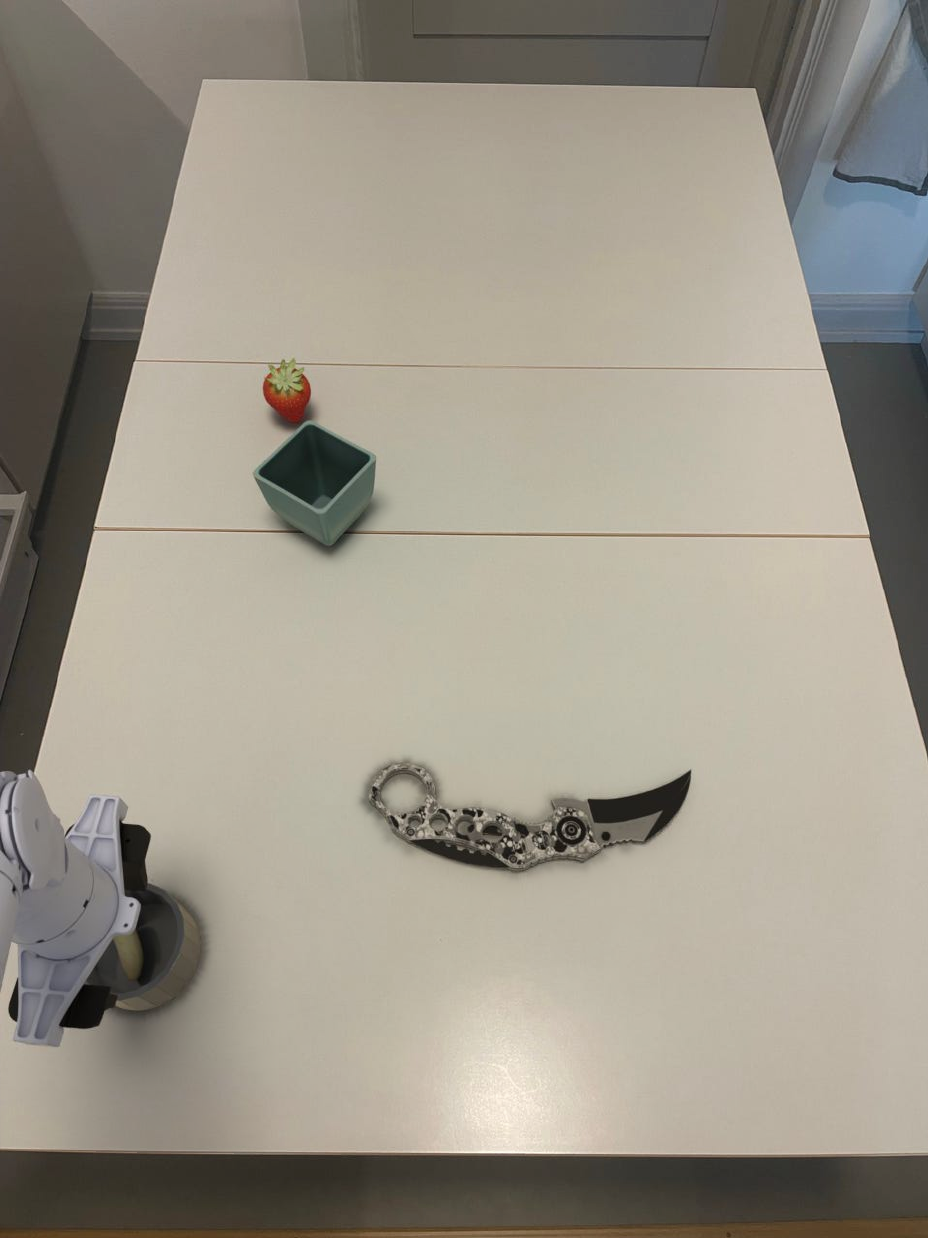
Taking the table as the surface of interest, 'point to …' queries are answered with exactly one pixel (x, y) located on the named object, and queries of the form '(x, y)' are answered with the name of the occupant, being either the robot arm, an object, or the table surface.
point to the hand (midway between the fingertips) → (117, 941)
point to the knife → (523, 845)
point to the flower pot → (318, 481)
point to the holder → (153, 953)
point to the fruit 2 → (287, 390)
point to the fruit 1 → (130, 954)
